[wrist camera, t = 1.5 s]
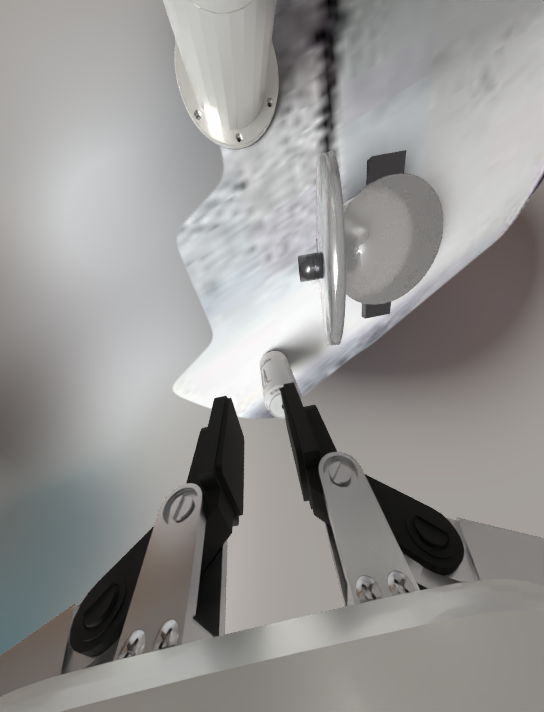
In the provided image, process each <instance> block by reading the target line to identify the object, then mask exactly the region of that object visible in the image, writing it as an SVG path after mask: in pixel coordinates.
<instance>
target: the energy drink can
mask: <svg viewBox="0 0 544 712" xmlns="http://www.w3.org/2000/svg"><path fill="white" fill-rule="evenodd" d="M260 369H261V378H262V386H263V395H264V403H265V406H266V407H267V409H268V410H269V411H270V413H271V414H272V415H273V416H275V417H277V418H285V414H284V408H283V403H282V397H281V392H280V388H281V387H284V386H283V384H287V383H292V382H294V384H295V386H296V389H297V392H298V394H299V397H300V400H301V393H300V391H299V388H298V386H297V383H296V381H295V378H294V375H293V373H292V370H291V368H290V365H289V363H288V360H287V358H286V356H285V355H284V354H283V353H281V352H279V351H270V352H268V353H266V354H265V355H264V356H263V357H262V358H261V361H260Z"/></svg>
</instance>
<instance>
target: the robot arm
mask: <svg viewBox="0 0 544 712" xmlns="http://www.w3.org/2000/svg"><path fill="white" fill-rule="evenodd" d="M163 2H164V5H165V8H166V11H167V14H168V17H169V20H170V23H171V27H172V30H173V33H174V36H175V39H176V41H175V54H174V58H175V72H176V78H177V83H178V87H179V90H180V94H181V97H182V100H183V102H184V104H185V107H186V109H187V111H188V113H189V115H190V117H191V118H192V120H193V122H194V123H195V125H196V126H197V127H198V128H199V130H200V131H201V132H202V133H203V134H204V135H205V136H206V137H207V138H208V139H210V140H211V141H213V142H214V143H216V144H217V145H220V146H222V147H225V148H230V149H240V148H244V147H247V146H250V145H252V144H253V143H254V142H256V141H257V140H258V139H259V138H260V137H261V136H262V135H263V134H264V133H265V131H266V129H267V128H268V126H269V125H270V122H271V120H272V117H273V115H274V111H275V107H276V103H277V97H278V90H279V73H278V63H277V58H276V53H275V49H274V46H273V43H272V34H273V25H274V16H275V8H276V0H163ZM268 105H271V107H268ZM198 116H199V117H200V119H199V120H198V119H197V117H198ZM238 139H241V142H238V141H237V140H238ZM283 386H284V387H281V388H280V392H281V397H282V403H283V408H284V414H285V419H286V424H287V430H288V434H289V438H290V443H291V447H292V451H293V456H294V460H295V464H296V468H297V473H298V477H299V481H300V486H301V490H302V494H303V498H304V501H309V502H310V506H311V509H313V512H314V515H315V516H317V517H318V518H319V519H321V520H322V521H324V524H325V528H326V532H327V537H328V541H329V545H330V549H331V553H332V557H333V561H334V565H335V570H336V574H337V578H338V582H339V586H340V590H341V594H342V598H343V603H344V606H345V607H342V608H338V609H334V610H329V611H325V612H320V613H316V614H312V615H308V616H303V617H299V618H294V619H290V620H286V621H281V622H277V623H273V624H269V625H265V626H260V627H256V628H252V629H247V630H243V631H239V632H234V633H230V634H226V635H225V609H226V608H225V607H226V573H227V539H228V537H229V536H230V534H231V533H232V527H233V526H237V525H238V524H239V516H240V515H243V489H244V436H243V433H242V430H241V427H240V424H239V421H238V418H237V415H236V412H235V408H234V405H233V402H232V399H231V398H227V396H223V397H218V398H215V399H214V402H213V407H212V411H211V416H210V420H209V424H208V427H205V428H202V429H201V431H200V435H199V438H198V442H197V446H196V450H195V453H194V457H193V461H192V465H191V468H190V472H189V476H188V480H187V483H186V484H183V485H181V486H179V487H177V488H176V489H174V490H173V491H172V492H171V493H170V494H169V495H168V496H167V497H166V498H165V500H164V501H163V503H162V505H161V507H160V509H159V512H158V515H157V518H156V522H155V525H154V527H153V528H152V529H151V530H150V531H149V532H148V533H147V534H146V535H145V536H144V537H143V538H142V539H141V540H140V541H139V542H138V543H137V544H136V545H135V546H134V547H133V548H132V549H131V550H130V551H129V552H128V553H127V554H126V555H125V556H124V557H123V558H122V559H121V560H120V561H119V562H118V563H117V564H116V565H115V566H114V567H113V568H112V569H111V570H110V571H109V572H108V573H107V574H106V575H105V576H104V577H103V578H102V579H101V580H100V581H99V582H98V583H97V584H96V585H95V586H94V587H93V588H92V589H91V591H90V592H89V593H88V595H87V596H86V597H85V599H84V600H83V602H82V603H81V604H80V605H76V604H73V605H72V606H70V607H69V608H68V609H66V610H65V611H63V612H62V613H60V614H59V615H58V616H56V617H55V618H53V619H52V620H50V621H49V622H48V623H46V624H45V625H43V626H42V627H41V628H39V629H38V630H36V631H35V632H33V633H32V634H31V635H29V636H28V637H26V638H25V639H23V640H22V641H20V642H19V643H18V644H16V645H15V646H13V647H12V648H10V649H9V650H8V651H6V652H5V653H3V654H2V655H1V656H0V712H544V539H543V538H541V537H537V536H533V535H528V534H524V533H519V532H516V531H512V530H507V529H503V528H499V527H495V526H491V525H486V524H482V523H478V522H474V521H469V520H465V519H461V518H457V519H456V520H452V519H448V518H445V517H444V516H443V515H442V514H441V513H439V512H437V511H436V510H434V509H433V508H431V507H429V506H427V505H425V504H423V503H421V502H419V501H417V500H415V499H413V498H411V497H409V496H407V495H405V494H403V493H401V492H399V491H397V490H395V489H393V488H391V487H389V486H387V485H385V484H383V483H381V482H379V481H377V480H375V479H373V478H371V477H369V476H367V475H365V474H364V472H363V470H362V468H361V466H360V465H359V463H358V462H357V461H356V460H355V459H354V458H353V457H352V456H350V455H348V454H346V453H342V452H337V450H336V448H335V446H334V444H333V442H332V439H331V437H330V435H329V433H328V431H327V429H326V426H325V424H324V422H323V420H322V418H321V416H320V414H319V411H318V409H317V407H316V406H315V405H311V406H306V407H303V405H302V402H301V400H300V397H299V394H298V392H297V389H296V386H295V384H294V382H292V383H287V384H283Z"/></svg>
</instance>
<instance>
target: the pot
mask: <svg viewBox="0 0 544 712" xmlns="http://www.w3.org/2000/svg"><path fill="white" fill-rule="evenodd" d="M405 156H406V150H405V151H400V152H394V153H389V154H383V155H378V156H372V157H371V158H370V159H368V160H367V181H366V185H368V186H367V187H366V188H364V189H363V190H362V191H361V192H360V193H359V194H358V195H357V196H355V197H353V198H351V199H350V200H348V201H346V202H345V203H343V211H344V227H345V252H346V294H347V295H348V296H349V297H351V298H352V299H354V300H356V301H358V302H361V303H362V317H363V318H370V317H375V316H380V315H385V314H390V306H391V301H393V300H395V299H397V298H399V297H401V296H403V295H404V294H406V293H407V292H409V291H410V290H411V289H412V288H413V287H415V286H416V285H417V284H418V283H419V282H420V280H421V279H422V278H423V277H424V276H425V274H426V273H427V271H428V270H429V268H430V267H431V265H432V263H433V261H434V259H435V257H436V255H437V252H438V249H439V246H440V243H441V239H442V233H443V212H442V208H441V204H440V201H439V198H438V196H437V194H436V193H435V191H434V190H433V188H432V187H431V186H430V185H429V184H428V183H427V182H425V181H424V180H423V179H421V178H419V177H417V176H414V175H410V174H404V166H405ZM316 241H317V238H316ZM317 253H318V246H317Z"/></svg>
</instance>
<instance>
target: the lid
mask: <svg viewBox="0 0 544 712" xmlns="http://www.w3.org/2000/svg"><path fill="white" fill-rule="evenodd" d="M316 220H317V246H318V253H313V254H307V255H302V256H298V262H299V273H300V281H301V282H304V281H310V280H317V279H319V280H320V293H321V304H322V314H323V323H324V330H325V336H326V341H327V344H328V345H339V344H340V342H341V339H342V334H343V327H344V316H345V295H346V252H345V227H344V211H343V199H342V189H341V181H340V173H339V168H338V163H337V159H336V155H335V153H334V152H333V151H330V152H326V153H323V154H319V155H318V158H317V168H316Z"/></svg>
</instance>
